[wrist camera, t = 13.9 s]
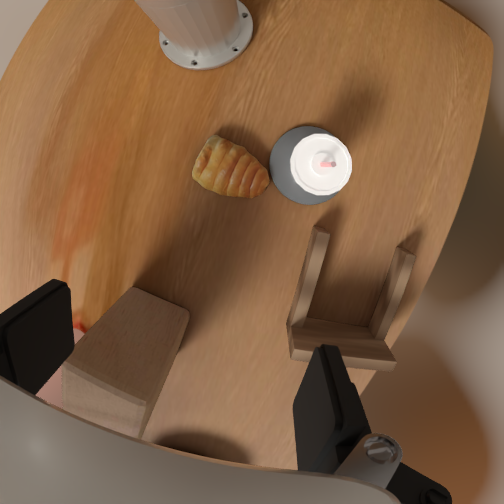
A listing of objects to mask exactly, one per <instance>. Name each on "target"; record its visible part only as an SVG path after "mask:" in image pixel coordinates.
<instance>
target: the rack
mask: <svg viewBox="0 0 504 504" xmlns="http://www.w3.org/2000/svg"><path fill="white" fill-rule="evenodd" d="M329 238H330V234H329V232H328V231H327V230H326V229H325V228H320V227H316V226H313V229H312V233H311V237H310V241H309V245H308V248H307V252H306V256H305V260H304V263H303V267H302V271H301V274H300V278H299V281H298V285H297V288H296V292H295V295H294V299H293V302H292V306H291V309H290V313H289V316H288V319H287V323H286V325H287V333H288V342H289V350H290V358H291V360H297V361H304V362H310V359H311V357H312V354H313V351H314V349H315V348H316V347H320V346H321V344H328V345H335V346H338V348H339V350H340V353H341V356H342V359H343V361H344V364H345V367H350V368H359V369H369V370H380V371H392V370H393V369H394V367H395V365H396V363H397V361H396V360H395V358H394V357H393V354H392V353H391V351H390V349H389V348H388V346H387V345H386V343H385V341H384V339H385V337H386V335H387V332H388V330H389V328H390V325H391V323H392V321H393V318H394V316H395V313H396V311H397V308H398V306H399V303H400V301H401V298H402V296H403V293H404V290H405V288H406V285H407V282H408V279H409V276H410V274H411V271H412V268H413V265H414V262H415V259H416V256H415V255H414V254H412V253H411V252H409V251H408V250H406V249H404V248H400V247H396V250H395V254H394V257H393V260H392V263H391V266H390V269H389V272H388V275H387V278H386V281H385V284H384V286H383V289H382V292H381V295H380V297H379V300H378V303H377V305H376V308H375V311H374V313H373V316H372V318H371V321H370V323H369V326H368V327H362V326H356V325H350V324H344V323H338V322H332V321H326V320H320V319H314V318H309V317H306V316H307V312H308V309H309V306H310V303H311V300H312V296H313V293H314V290H315V287H316V283H317V280H318V277H319V273H320V270H321V266H322V263H323V259H324V256H325V252H326V249H327V245H328V242H329Z"/></svg>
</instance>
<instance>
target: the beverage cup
mask: <svg viewBox="0 0 504 504" xmlns="http://www.w3.org/2000/svg"><path fill="white" fill-rule="evenodd" d="M290 165H291V173H292V175H293V177H294V179H295V181H296V183H297V184H298V185H300V186H301V187H302V188H303V189H304V190H305V191H307V192H310V193H312V194H315V195H330V194H332V193H335V192H337V191H339V190H340V189H341V188H342V187H343V186H344V185H345V184H346V183H347V182H348V180H349V177H350V174H351V171H352V162H351V156H350V154H349V152H348V150H347V147H346V146H345V145H344V144H343V143H342V142H341V141H340V140H339V139H337V138H335V137H333V136H330V135H328V134H313V135H310V136H308V137H306V138H303V139H302V140H301V141H300V142H299V143H298V144H297V145H296V146H295V148H294V150H293V153H292V155H291V158H290Z"/></svg>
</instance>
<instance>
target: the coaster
mask: <svg viewBox="0 0 504 504" xmlns="http://www.w3.org/2000/svg"><path fill="white" fill-rule="evenodd" d="M313 134H328V135H330V136H333V135H332V134H331V133H329V132H328V131H326V130H323V129H321V128H318V127H312V126H303V127H298V128H295V129H292V130H290V131H288V132H287V133H285V134H284V135H283V136H282V137H281V138H280V139H279V140H278V141H277V142H276V144H275V145H274V147H273V150H272V152H271V156H270V164H269V167H270V173H271V177H272V179H273V182H274V184H275V185H276V187H277V188H278V190H279V191H280V192H281V193H282V194H283V195H284V196H286V197H287V198H289V199H290V200H292V201H294V202H297V203H300V204H307V205H313V204H319V203H322V202H325V201H327V200H329V199H331V198H332V197H334V196H335V195H336V194H337V193H338V192H339V191H340V190H339V191H337V192H335V193H332V194H330V195H315V194H312V193H310V192H307V191H305V190H304V189H303V188H302V187H301V186H300V185H298V184H297V183H296V181H295V179H294V177H293V175H292V173H291V165H290V158H291V155H292V153H293V150H294V148H295V146H296V145H297V144H298V143H299V142H300V141H301V140H302V139H303V138H306V137H308V136H310V135H313ZM333 137H334V136H333ZM335 138H336V137H335Z"/></svg>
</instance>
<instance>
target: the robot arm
mask: <svg viewBox="0 0 504 504" xmlns="http://www.w3.org/2000/svg"><path fill="white" fill-rule="evenodd" d="M134 1H135V2H136V3H137V4H138V5H139V6H140V7H141V8H142V10H143V11H144V12H145V13H146V14H147V15H148V16H149V18H150V19H151V20H152V21H153V22H154V23H155V25H156V26H157V27H158V28H159V29H160V32H159V41H160V46H161V48H162V50H163V52H164V54H165V55H166V56H167V57H168V58H169V59H170V60H171V61H172V62H173V63H175V64H177V65H179V66H181V67H184V68H187V69H192V70H208V69H214V68H217V67H220V66H223V65H225V64H227V63H229V62H231V61H233V60H234V59H235V58H237V57H238V56H239V55H240V54H241V53H242V52H243V51H244V50H245V49H246V47H247V46H248V44H249V42H250V40H251V37H252V33H253V21H252V17H251V14H250V12H249V10H248V9H247V8H246V6H245V5H244V4H243V3H241V2H240V1H239V0H134ZM244 17H246V18H244ZM166 44H167V45H166ZM236 49H237V50H238V51H234V50H236ZM195 63H197V65H195V66H194V64H195ZM74 347H75V343H74V333H73V322H72V309H71V291H70V288H69V287H68V285H67V283H66V282H63V281H60V280H57V279H52V280H50V281H49V282H47V283H46V284H44V285H43V286H41V287H40V288H38V289H36V290H35V291H33V292H32V293H30V294H29V295H27V296H26V297H24V298H23V299H21V300H20V301H18V302H17V303H16V304H14V305H13V306H11V307H10V308H8V309H7V310H5V311H4V312H3V313H1V314H0V504H452V498H451V495H450V493H449V492H448V490H447V489H446V488H445V487H443V486H442V485H441V484H438V483H437V482H435V481H433V480H431V479H429V478H428V477H426V476H424V475H422V474H420V473H419V472H417V471H415V470H413V469H412V468H410V467H408V466H407V465H405V464H403V463H401V459H402V449H401V447H400V445H399V444H398V443H397V442H396V441H395V440H394V439H393V438H391V437H389V436H387V435H384V434H380V433H372V432H371V429H370V426H369V424H368V420H367V418H366V415H365V412H364V409H363V406H362V403H361V400H360V398H359V395H358V392H357V389H356V386H355V385H354V383H352V382H351V381H350V378H349V375H348V373H347V370H346V367H345V364H344V361H343V359H342V356H341V353H340V350H339V348H338V346H335V345H328V344H321V346H320V347H316V348H315V349H314V351H313V354H312V357H311V359H310V362H309V365H308V367H307V370H306V372H305V375H304V377H303V380H302V382H301V385H300V387H299V390H298V392H297V395H296V397H295V399H294V403H293V417H294V428H295V440H296V452H297V464H298V470H289V469H279V468H270V467H262V466H255V465H249V464H242V463H236V462H230V461H224V460H219V459H214V458H209V457H204V456H199V455H195V454H191V453H187V452H182V451H179V450H175V449H171V448H167V447H164V446H160V445H157V444H153V443H150V442H147V441H143V440H140V439H137V438H134V437H131V436H128V435H125V434H122V433H119V432H117V431H114V430H111V429H109V428H106V427H103V426H101V425H98V424H96V423H93V422H91V421H88V420H86V419H84V418H81V417H79V416H77V415H74V414H72V413H70V412H68V411H66V410H63V409H61V408H59V407H57V406H55V405H53V404H51V403H49V402H47V401H45V400H43V399H41V398H39V397H37V396H35V395H36V394H37V393H38V391H39V390H40V389H41V388H42V387H43V386H44V384H45V383H46V382H47V381H48V380H49V379H50V377H51V376H52V375H53V374H54V373H55V372H56V371H57V369H58V368H59V367H60V366H61V365H62V364H63V363H64V361H65V360H66V359H67V358H68V357H69V356H70V355H71V354H72V352H73V350H74Z"/></svg>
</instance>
